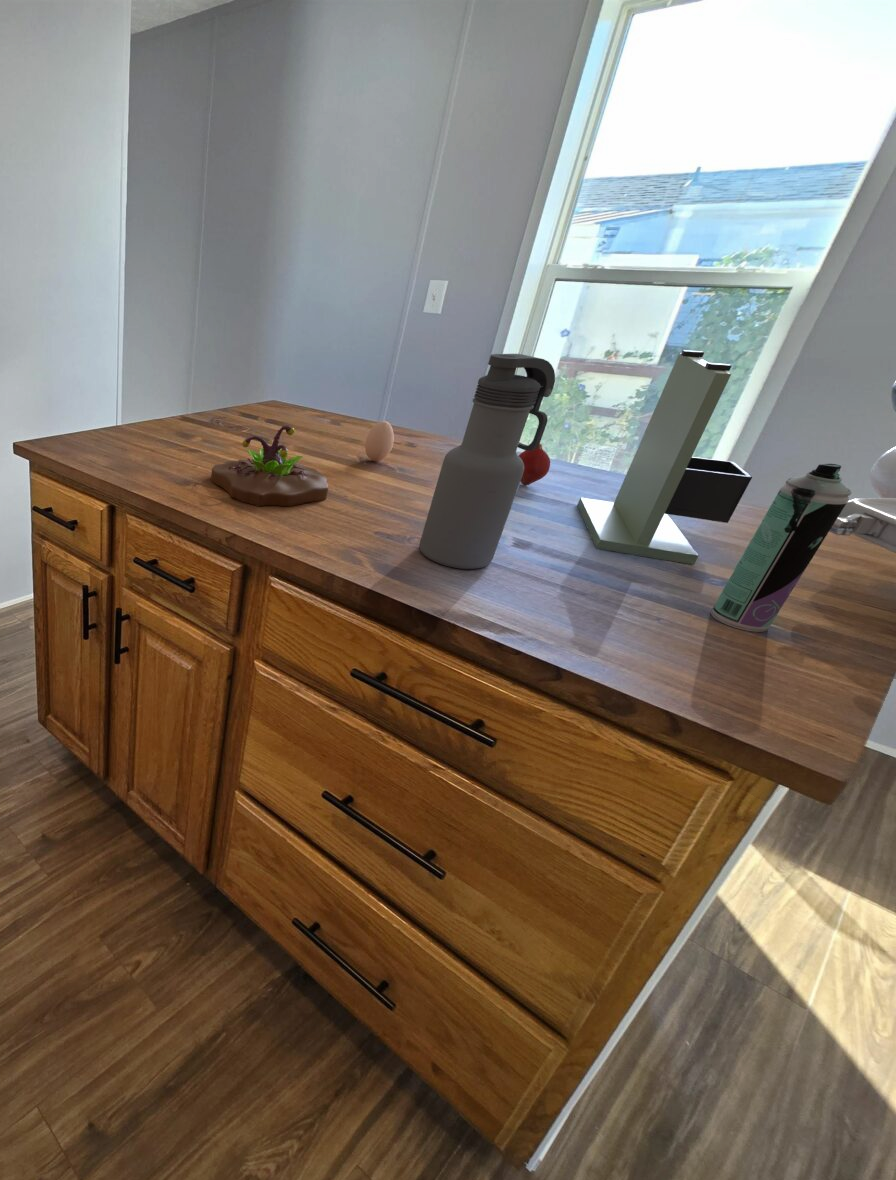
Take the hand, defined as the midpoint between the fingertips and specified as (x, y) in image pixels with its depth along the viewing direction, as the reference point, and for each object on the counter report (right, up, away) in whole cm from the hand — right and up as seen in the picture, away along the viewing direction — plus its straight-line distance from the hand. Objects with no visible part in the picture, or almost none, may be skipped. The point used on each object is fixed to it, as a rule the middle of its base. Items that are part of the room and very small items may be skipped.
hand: (870, 542), depth 75 cm
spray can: (-10, -9, +6) cm, 15 cm away
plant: (-57, +14, +46) cm, 75 cm away
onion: (-8, +15, +49) cm, 51 cm away
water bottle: (-37, 0, +21) cm, 42 cm away
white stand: (-2, +4, +29) cm, 29 cm away
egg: (-32, +22, +60) cm, 71 cm away
